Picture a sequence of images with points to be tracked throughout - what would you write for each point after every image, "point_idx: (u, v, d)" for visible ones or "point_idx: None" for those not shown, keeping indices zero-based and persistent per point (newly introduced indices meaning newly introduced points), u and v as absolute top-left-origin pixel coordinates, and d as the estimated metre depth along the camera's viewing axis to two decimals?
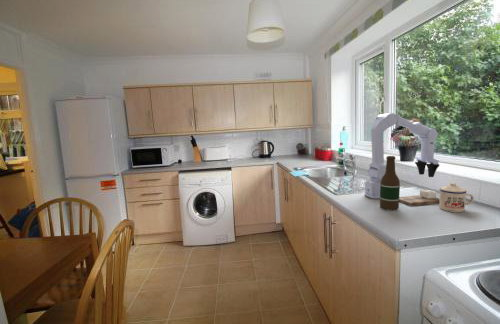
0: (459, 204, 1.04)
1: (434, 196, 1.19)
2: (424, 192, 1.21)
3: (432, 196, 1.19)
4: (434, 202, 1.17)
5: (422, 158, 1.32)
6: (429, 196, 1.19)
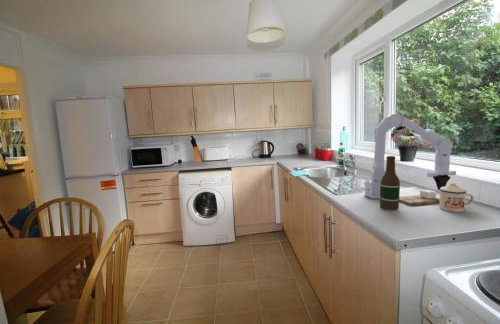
0: (459, 204, 1.04)
1: (434, 196, 1.19)
2: (424, 192, 1.21)
3: (432, 196, 1.19)
4: (434, 202, 1.17)
5: None
6: (429, 196, 1.19)
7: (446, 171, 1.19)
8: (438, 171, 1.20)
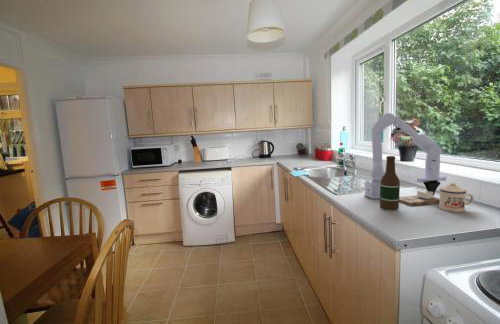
0: (459, 204, 1.04)
1: (431, 196, 1.19)
2: (421, 192, 1.21)
3: (429, 196, 1.19)
4: (434, 202, 1.17)
5: None
6: (426, 196, 1.19)
7: (436, 177, 1.18)
8: (428, 177, 1.20)
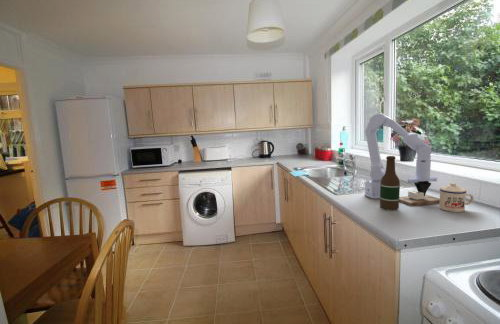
0: (459, 204, 1.04)
1: (422, 197, 1.18)
2: (412, 193, 1.20)
3: (420, 197, 1.18)
4: (434, 202, 1.17)
5: None
6: (417, 197, 1.18)
7: (427, 177, 1.17)
8: (419, 177, 1.19)
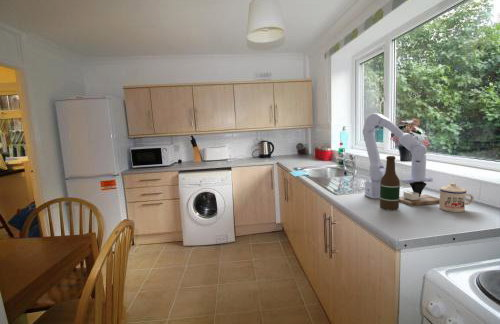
0: (459, 204, 1.04)
1: (417, 198, 1.18)
2: (407, 193, 1.20)
3: (415, 198, 1.18)
4: (434, 202, 1.17)
5: None
6: (412, 198, 1.18)
7: (422, 178, 1.17)
8: (414, 178, 1.18)
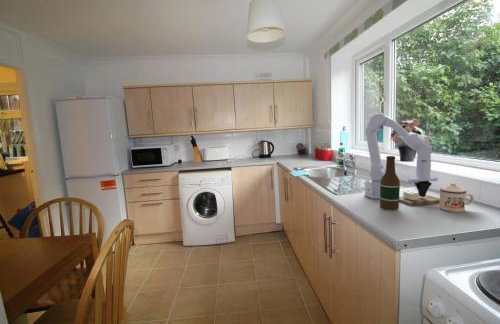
0: (459, 204, 1.04)
1: (417, 198, 1.18)
2: (407, 193, 1.20)
3: (415, 198, 1.18)
4: (434, 202, 1.17)
5: None
6: (412, 198, 1.18)
7: (427, 177, 1.17)
8: (419, 177, 1.19)
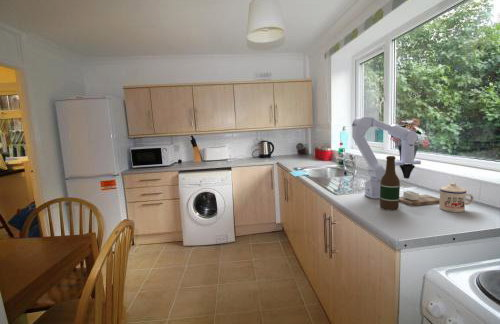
0: (459, 204, 1.04)
1: (417, 198, 1.18)
2: (407, 193, 1.20)
3: (415, 198, 1.18)
4: (434, 202, 1.17)
5: None
6: (412, 198, 1.18)
7: (410, 160, 1.28)
8: (403, 160, 1.29)
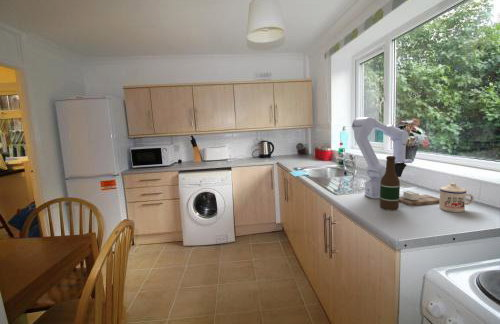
0: (459, 204, 1.04)
1: (417, 198, 1.18)
2: (407, 193, 1.20)
3: (415, 198, 1.18)
4: (434, 202, 1.17)
5: None
6: (412, 198, 1.18)
7: (402, 159, 1.32)
8: (395, 159, 1.34)
